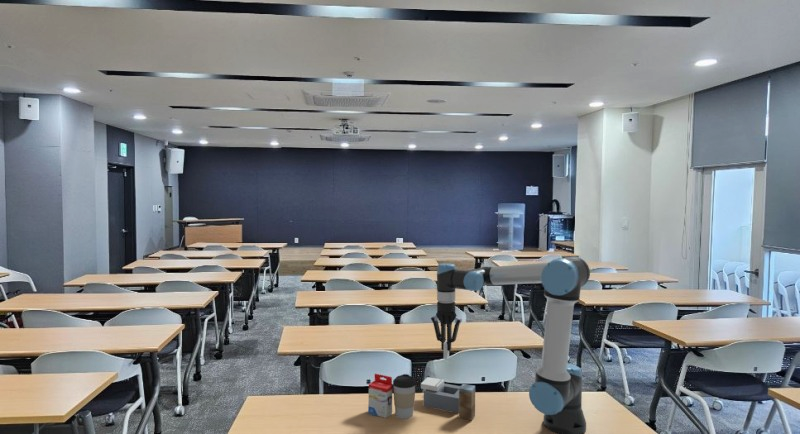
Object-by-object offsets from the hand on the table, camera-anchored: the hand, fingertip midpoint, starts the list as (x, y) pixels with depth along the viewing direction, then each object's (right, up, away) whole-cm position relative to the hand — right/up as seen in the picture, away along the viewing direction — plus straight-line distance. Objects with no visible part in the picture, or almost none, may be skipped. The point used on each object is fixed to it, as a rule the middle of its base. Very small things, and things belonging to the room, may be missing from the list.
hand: (446, 358), depth 190 cm
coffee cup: (-18, -20, -9) cm, 28 cm away
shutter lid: (-6, -13, +3) cm, 14 cm away
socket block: (0, -19, +1) cm, 19 cm away
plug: (+7, -20, -11) cm, 24 cm away
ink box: (-27, -20, -8) cm, 34 cm away
